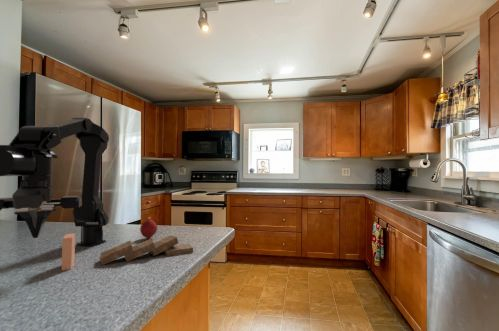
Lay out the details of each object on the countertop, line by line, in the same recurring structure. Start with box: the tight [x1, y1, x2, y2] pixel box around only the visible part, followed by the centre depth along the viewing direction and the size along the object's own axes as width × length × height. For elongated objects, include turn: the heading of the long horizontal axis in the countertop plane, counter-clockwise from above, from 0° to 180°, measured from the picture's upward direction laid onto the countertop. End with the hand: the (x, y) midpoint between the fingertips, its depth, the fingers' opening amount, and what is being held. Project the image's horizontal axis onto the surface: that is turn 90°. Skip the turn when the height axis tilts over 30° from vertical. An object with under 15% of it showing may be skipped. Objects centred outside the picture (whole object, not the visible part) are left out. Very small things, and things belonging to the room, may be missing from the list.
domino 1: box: [99, 240, 134, 266], centre depth 72 cm, size 2×5×8 cm
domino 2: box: [124, 238, 155, 263], centre depth 75 cm, size 2×5×8 cm
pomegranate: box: [139, 216, 158, 240], centre depth 95 cm, size 6×6×8 cm
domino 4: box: [163, 243, 194, 257], centre depth 80 cm, size 2×5×8 cm
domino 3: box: [148, 234, 179, 257], centre depth 79 cm, size 2×5×8 cm
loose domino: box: [61, 233, 76, 271], centre depth 67 cm, size 2×5×8 cm, turn 27°
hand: (35, 237), depth 64 cm, fingers closed
